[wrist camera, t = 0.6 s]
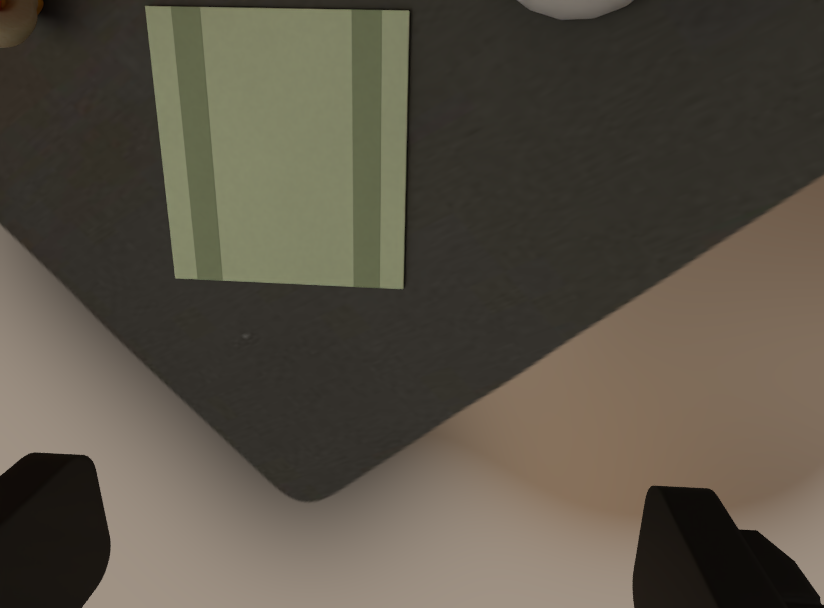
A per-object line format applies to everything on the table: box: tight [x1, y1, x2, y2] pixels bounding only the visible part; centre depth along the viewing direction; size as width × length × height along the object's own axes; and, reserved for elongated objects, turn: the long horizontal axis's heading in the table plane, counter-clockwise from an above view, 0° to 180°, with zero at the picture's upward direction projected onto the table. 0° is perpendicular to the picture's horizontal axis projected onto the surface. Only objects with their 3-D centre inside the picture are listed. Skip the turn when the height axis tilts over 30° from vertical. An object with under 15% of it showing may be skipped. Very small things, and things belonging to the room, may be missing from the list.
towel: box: [145, 6, 410, 289], centre depth 33 cm, size 15×14×1 cm
